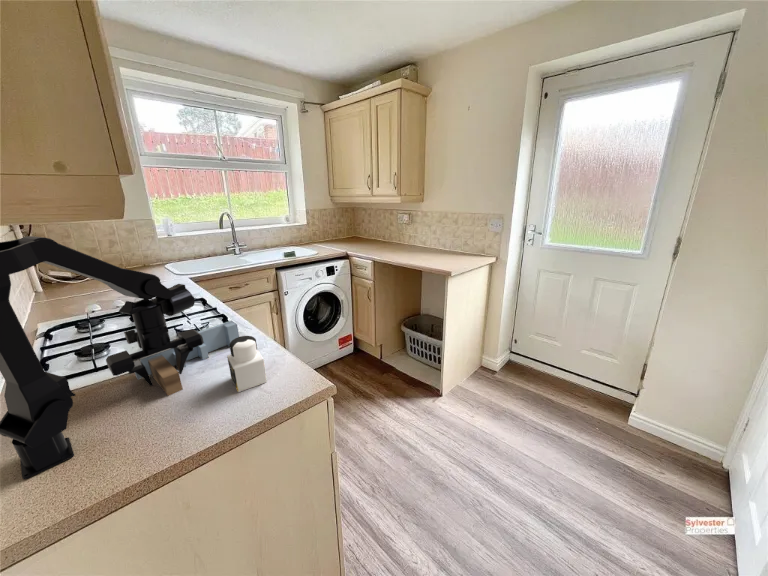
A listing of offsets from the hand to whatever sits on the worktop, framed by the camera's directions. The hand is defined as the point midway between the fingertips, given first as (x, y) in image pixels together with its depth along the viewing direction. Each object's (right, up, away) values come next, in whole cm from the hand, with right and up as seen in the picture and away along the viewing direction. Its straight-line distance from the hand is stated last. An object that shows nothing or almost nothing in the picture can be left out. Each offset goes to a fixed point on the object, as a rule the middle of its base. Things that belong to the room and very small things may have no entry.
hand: (166, 379), depth 79 cm
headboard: (+1, +2, +9) cm, 10 cm away
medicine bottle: (+21, -1, +2) cm, 21 cm away
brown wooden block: (0, -1, 0) cm, 1 cm away
